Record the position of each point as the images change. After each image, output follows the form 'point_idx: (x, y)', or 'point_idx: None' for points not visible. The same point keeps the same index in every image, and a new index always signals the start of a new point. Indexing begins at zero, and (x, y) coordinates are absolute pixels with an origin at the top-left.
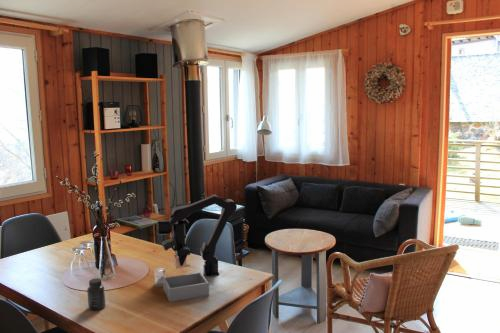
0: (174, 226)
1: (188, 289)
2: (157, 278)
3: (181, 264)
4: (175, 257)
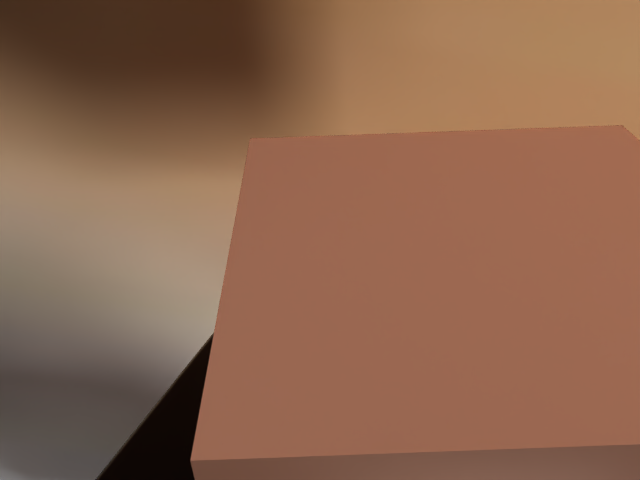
0: None
1: None
2: None
3: None
4: (441, 460)
